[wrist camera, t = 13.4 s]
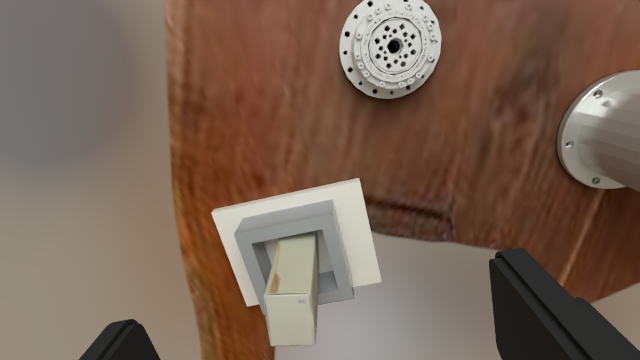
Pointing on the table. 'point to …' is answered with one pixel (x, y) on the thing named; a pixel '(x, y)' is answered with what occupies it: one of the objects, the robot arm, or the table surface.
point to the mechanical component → (364, 49)
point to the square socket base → (295, 218)
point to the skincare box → (293, 291)
